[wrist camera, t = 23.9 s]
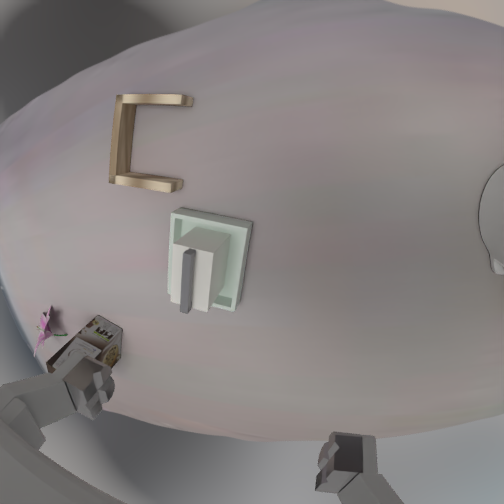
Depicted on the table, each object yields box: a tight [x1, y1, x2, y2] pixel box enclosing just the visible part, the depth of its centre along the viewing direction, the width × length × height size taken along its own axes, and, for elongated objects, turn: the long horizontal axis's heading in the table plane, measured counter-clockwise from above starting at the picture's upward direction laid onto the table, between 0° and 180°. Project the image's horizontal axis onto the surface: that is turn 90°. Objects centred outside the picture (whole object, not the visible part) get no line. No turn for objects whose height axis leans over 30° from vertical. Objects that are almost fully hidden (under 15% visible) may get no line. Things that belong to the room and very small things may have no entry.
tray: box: [168, 208, 253, 312], centre depth 41 cm, size 10×12×3 cm
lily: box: [34, 306, 68, 357], centre depth 54 cm, size 12×12×10 cm
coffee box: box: [46, 315, 122, 374], centre depth 47 cm, size 9×6×16 cm
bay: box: [109, 94, 193, 193], centre depth 36 cm, size 10×12×4 cm
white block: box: [171, 227, 231, 314], centre depth 38 cm, size 5×8×9 cm, turn 171°
